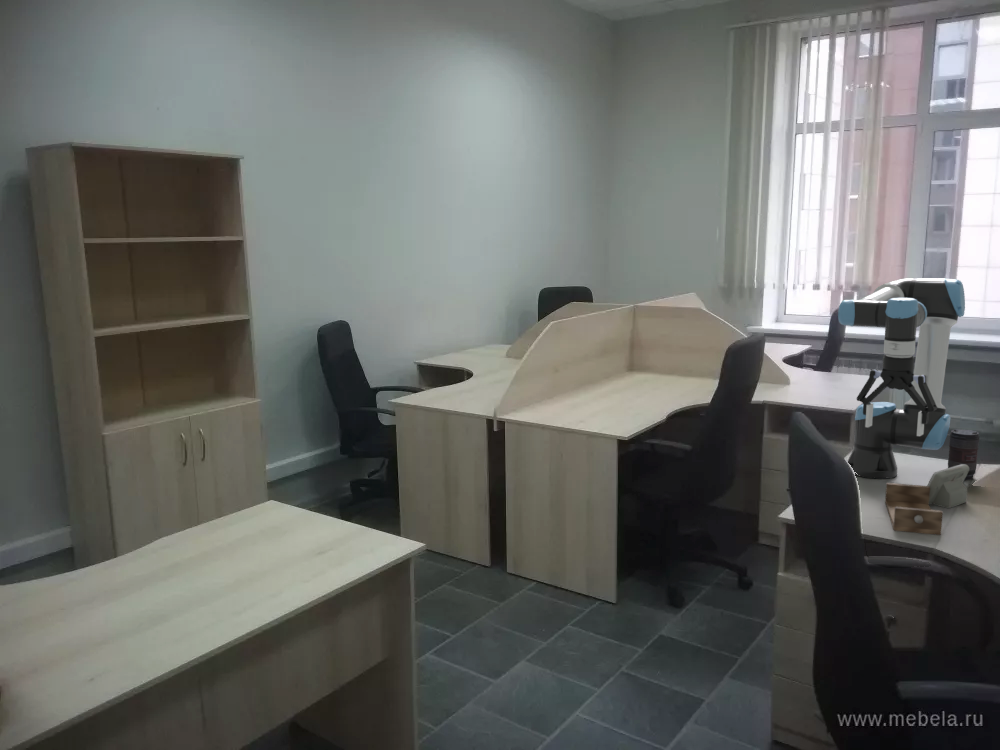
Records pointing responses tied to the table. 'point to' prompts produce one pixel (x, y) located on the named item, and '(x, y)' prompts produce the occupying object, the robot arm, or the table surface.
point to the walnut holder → (912, 509)
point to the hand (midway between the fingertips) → (893, 430)
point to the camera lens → (964, 450)
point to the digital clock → (948, 486)
